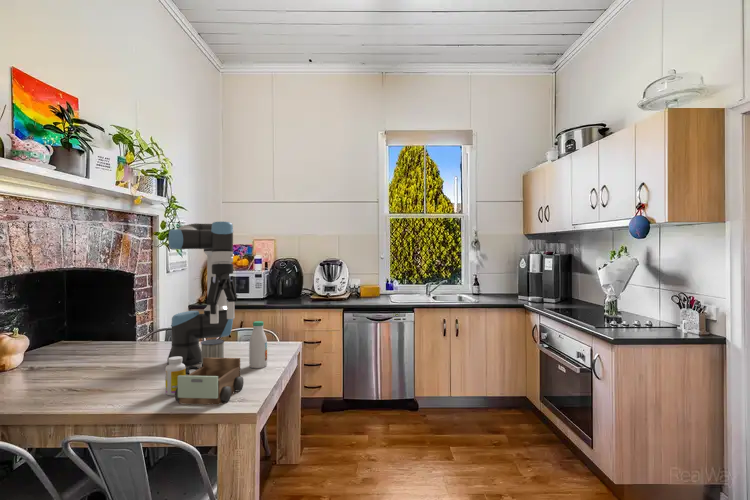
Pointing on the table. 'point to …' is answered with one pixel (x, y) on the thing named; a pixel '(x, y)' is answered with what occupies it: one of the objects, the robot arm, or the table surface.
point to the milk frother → (209, 351)
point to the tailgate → (197, 386)
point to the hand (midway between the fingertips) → (222, 321)
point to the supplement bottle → (173, 374)
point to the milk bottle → (258, 346)
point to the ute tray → (226, 379)
